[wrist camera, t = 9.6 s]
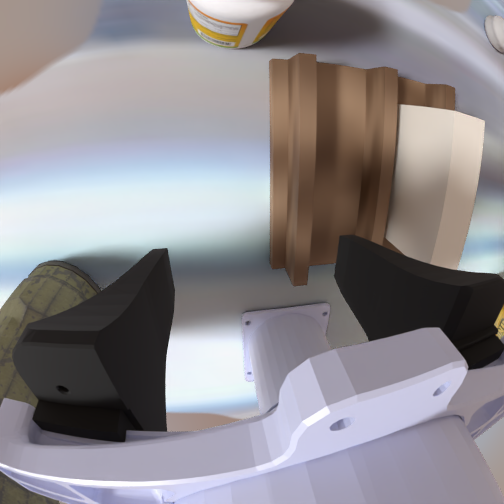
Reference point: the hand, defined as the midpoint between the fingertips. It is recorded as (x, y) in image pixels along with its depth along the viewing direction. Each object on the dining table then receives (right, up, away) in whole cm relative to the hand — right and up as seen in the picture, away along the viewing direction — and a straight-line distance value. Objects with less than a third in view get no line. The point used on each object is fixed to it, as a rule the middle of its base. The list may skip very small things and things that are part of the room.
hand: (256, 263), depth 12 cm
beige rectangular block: (+11, +7, +8) cm, 15 cm away
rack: (+8, +7, +8) cm, 13 cm away
